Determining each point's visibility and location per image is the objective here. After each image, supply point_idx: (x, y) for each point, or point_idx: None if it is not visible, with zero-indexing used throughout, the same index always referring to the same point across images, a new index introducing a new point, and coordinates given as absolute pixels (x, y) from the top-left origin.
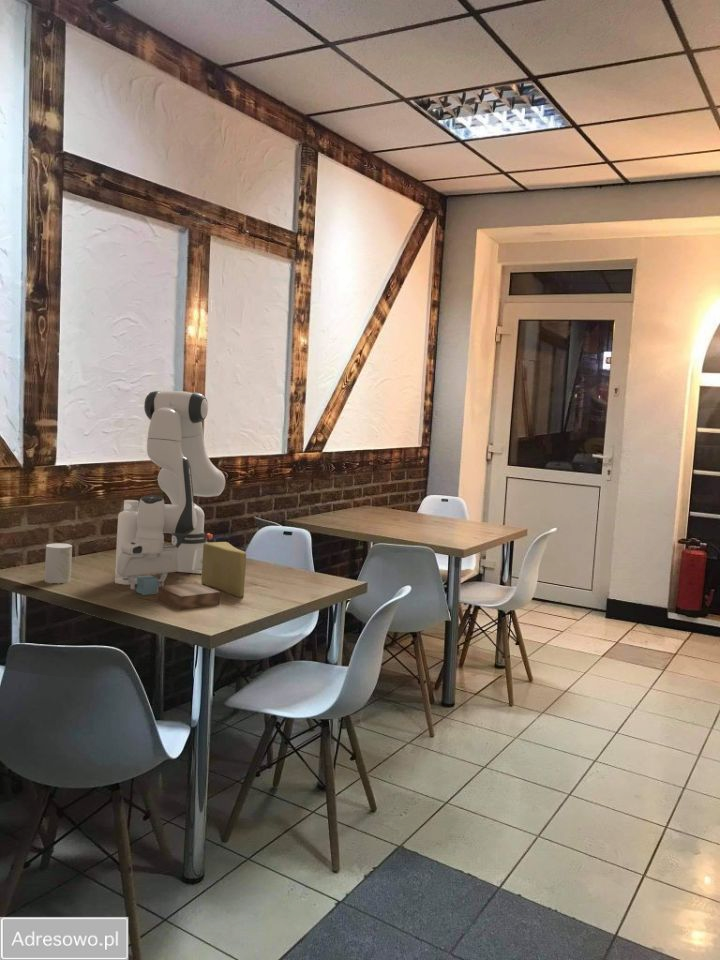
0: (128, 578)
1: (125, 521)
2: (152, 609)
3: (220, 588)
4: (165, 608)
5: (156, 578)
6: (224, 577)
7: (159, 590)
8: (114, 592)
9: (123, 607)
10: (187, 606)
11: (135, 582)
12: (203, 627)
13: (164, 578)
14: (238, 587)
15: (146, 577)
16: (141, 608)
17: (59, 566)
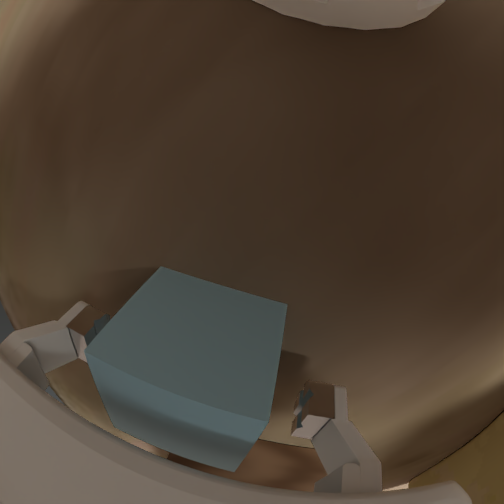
0: (18, 340)
1: None
2: (115, 429)
3: (476, 440)
4: (151, 448)
5: (223, 466)
6: (464, 489)
7: (169, 455)
8: (47, 194)
9: (51, 371)
10: None
11: (353, 23)
12: None
13: (327, 462)
14: None
15: (161, 422)
16: (91, 409)
17: None
